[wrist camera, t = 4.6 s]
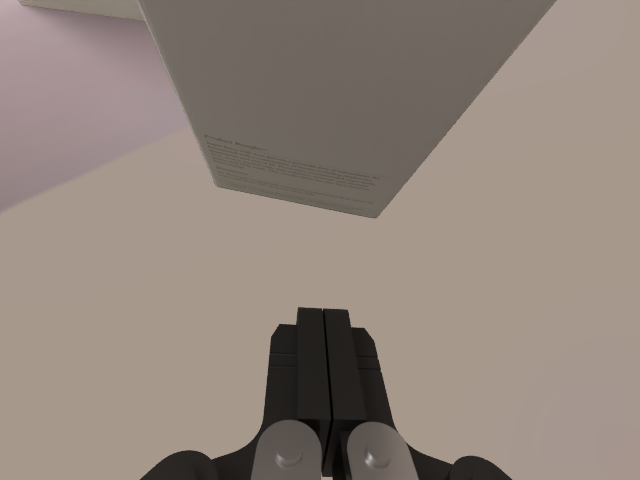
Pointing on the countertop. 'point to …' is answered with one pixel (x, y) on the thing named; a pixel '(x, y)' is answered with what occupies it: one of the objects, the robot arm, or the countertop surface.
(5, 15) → the countertop surface
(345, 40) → the supplement box
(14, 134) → the countertop surface
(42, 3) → the stoneware open box
